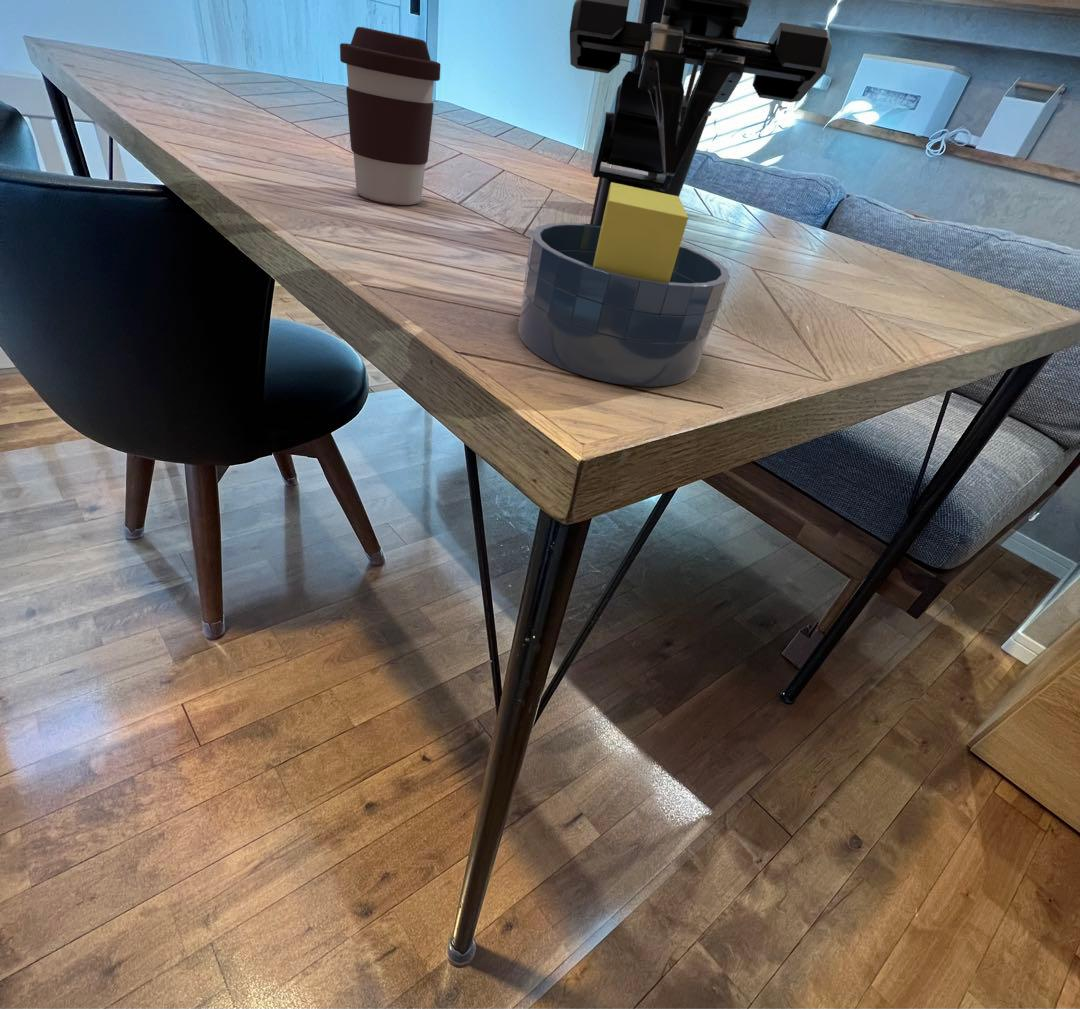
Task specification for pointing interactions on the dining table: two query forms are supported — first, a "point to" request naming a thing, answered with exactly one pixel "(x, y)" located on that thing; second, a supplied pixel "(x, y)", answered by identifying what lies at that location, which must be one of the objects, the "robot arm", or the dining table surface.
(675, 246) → the sponge
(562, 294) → the bowl
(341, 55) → the coffee cup
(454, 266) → the dining table surface
